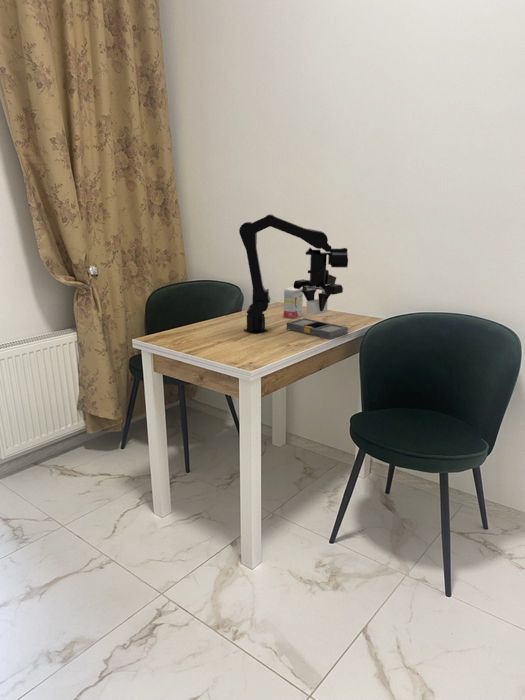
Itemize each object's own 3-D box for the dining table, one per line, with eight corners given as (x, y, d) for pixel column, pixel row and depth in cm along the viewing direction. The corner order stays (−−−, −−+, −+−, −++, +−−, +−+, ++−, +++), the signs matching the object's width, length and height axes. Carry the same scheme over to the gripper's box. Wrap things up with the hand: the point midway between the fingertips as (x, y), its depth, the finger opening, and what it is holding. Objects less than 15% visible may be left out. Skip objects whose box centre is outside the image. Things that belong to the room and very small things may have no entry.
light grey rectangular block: (314, 315, 178) (315, 302, 177) (306, 313, 181) (306, 301, 180) (327, 312, 183) (327, 300, 182) (318, 310, 186) (319, 298, 184)
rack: (329, 339, 173) (329, 332, 172) (286, 329, 187) (286, 322, 186) (347, 333, 181) (347, 326, 180) (304, 324, 194) (304, 317, 194)
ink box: (293, 318, 204) (293, 290, 200) (283, 317, 206) (283, 289, 203) (303, 314, 211) (303, 287, 207) (292, 313, 213) (293, 286, 210)
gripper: (353, 267, 176) (350, 310, 181) (312, 263, 189) (311, 303, 193) (334, 270, 169) (332, 315, 173) (292, 265, 181) (292, 307, 186)
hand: (316, 310), depth 182 cm, fingers closed on light grey rectangular block, 4 cm apart
